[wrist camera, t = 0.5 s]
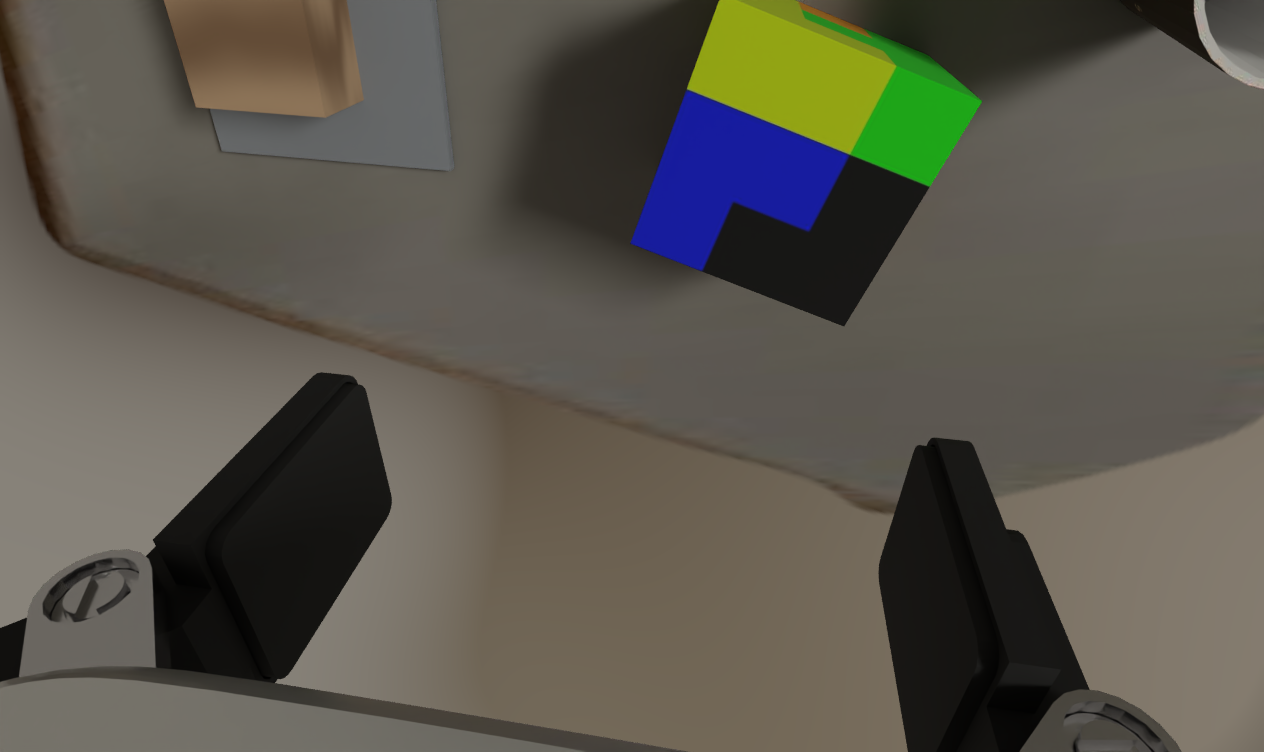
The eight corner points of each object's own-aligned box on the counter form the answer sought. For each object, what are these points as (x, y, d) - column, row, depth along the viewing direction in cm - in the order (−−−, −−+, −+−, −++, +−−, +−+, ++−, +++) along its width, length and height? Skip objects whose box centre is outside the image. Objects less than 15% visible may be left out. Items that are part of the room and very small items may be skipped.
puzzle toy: (659, 172, 38) (630, 243, 30) (732, -26, 32) (721, -7, 24) (827, 239, 39) (844, 326, 30) (927, 55, 33) (982, 101, 25)
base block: (206, -58, 35) (147, -55, 31) (337, -52, 34) (291, -48, 30) (244, 91, 38) (196, 107, 35) (363, 99, 38) (325, 117, 34)
